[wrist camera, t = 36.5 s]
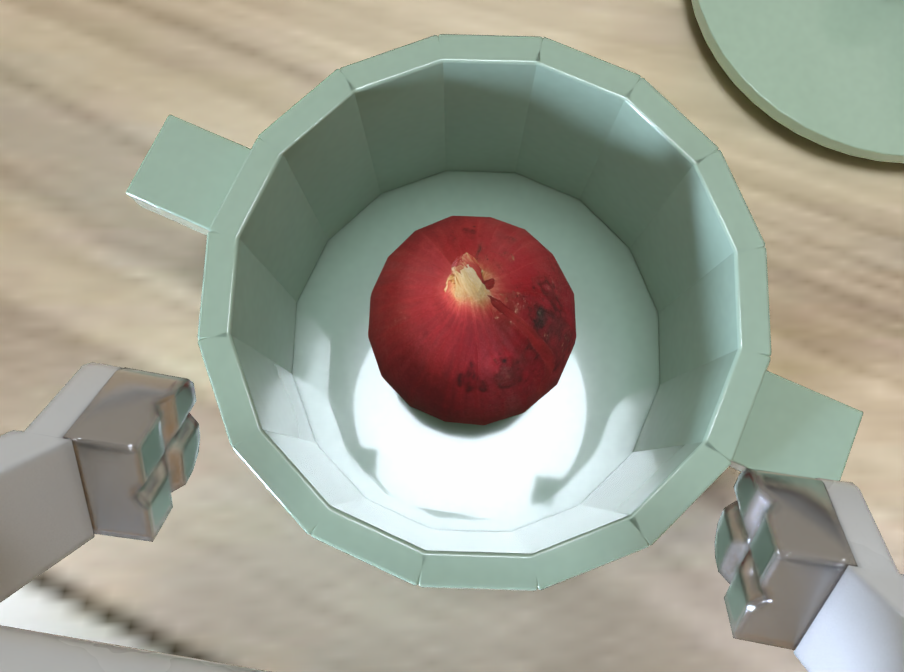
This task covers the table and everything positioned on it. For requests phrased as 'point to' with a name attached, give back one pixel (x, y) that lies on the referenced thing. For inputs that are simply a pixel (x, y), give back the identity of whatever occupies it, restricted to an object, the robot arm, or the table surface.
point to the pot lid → (817, 67)
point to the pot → (583, 264)
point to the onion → (472, 320)
